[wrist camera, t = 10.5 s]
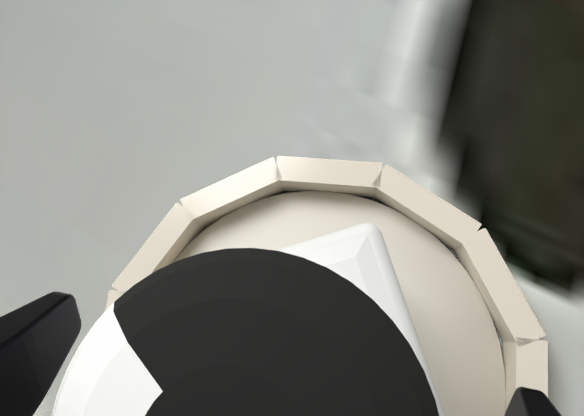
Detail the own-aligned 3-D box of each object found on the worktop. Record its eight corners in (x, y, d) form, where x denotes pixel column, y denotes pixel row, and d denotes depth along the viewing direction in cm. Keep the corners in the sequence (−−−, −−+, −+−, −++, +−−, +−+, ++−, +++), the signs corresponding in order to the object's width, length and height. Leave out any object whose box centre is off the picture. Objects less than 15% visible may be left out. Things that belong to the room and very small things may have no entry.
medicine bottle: (369, 256, 19) (391, 142, 7) (434, 449, 17) (612, 727, 5) (198, 309, 19) (-49, 283, 7) (242, 503, 17) (3, 876, 6)
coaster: (617, 324, 17) (641, 324, 16) (365, 734, 15) (365, 776, 14) (271, 104, 21) (265, 87, 20) (36, 408, 19) (10, 414, 18)
